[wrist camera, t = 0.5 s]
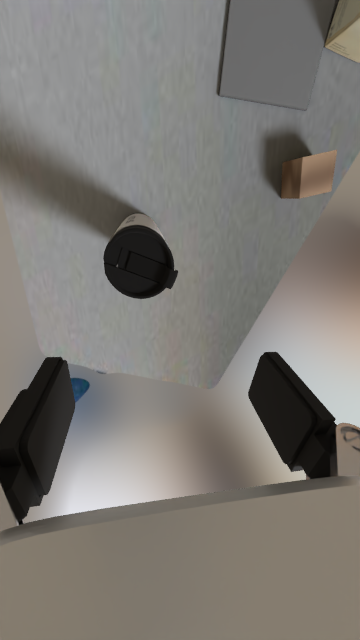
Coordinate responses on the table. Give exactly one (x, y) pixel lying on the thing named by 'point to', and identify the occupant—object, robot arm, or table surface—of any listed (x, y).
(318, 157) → the walnut block
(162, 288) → the travel mug
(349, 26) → the skincare box
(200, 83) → the table surface
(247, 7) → the mat
